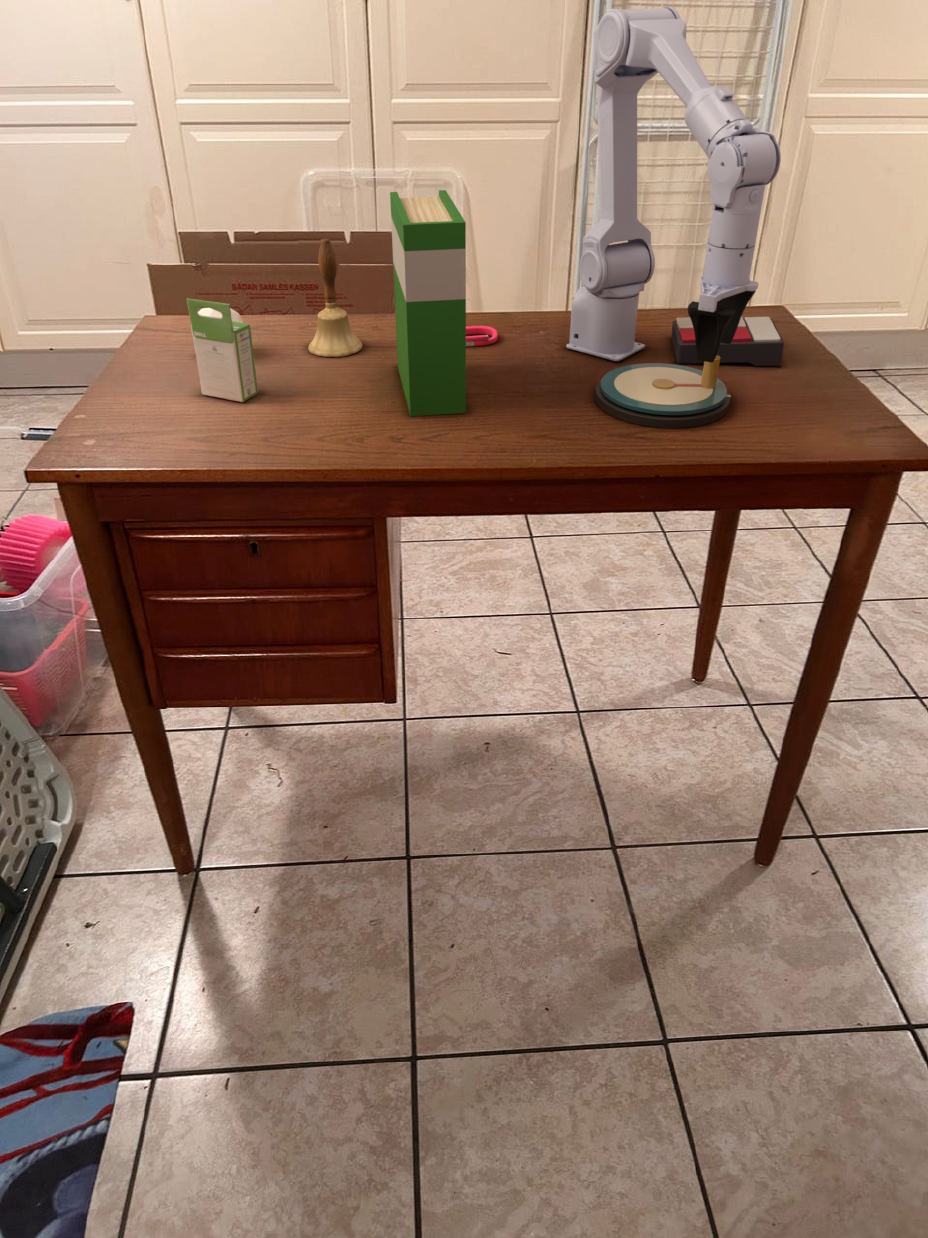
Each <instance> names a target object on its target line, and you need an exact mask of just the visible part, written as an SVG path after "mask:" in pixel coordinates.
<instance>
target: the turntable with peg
mask: <svg viewBox="0 0 928 1238" xmlns="http://www.w3.org/2000/svg"><path fill="white" fill-rule="evenodd" d="M720 364H721V363H720V356H718V355H717V356H716V358H715V360H714V362H713V363H711V362H705V361H704V363H703V368H702V370H701V369H698V368H694V367H690V366H688V365H687V366H686V365H682V364H675V363H663V362H648V363H634V364H628V365H623V366H621V367H617V368H614V369H613V370H612V369H611V370H610V371H609V372H606V374H604V375H603V377H602V378H601V379H600V381H601V391H602V393H603V395H604V396H605V397H606V398H607V399H609V400H610V401H612V402H614V403H615V404H617V405H620V406H622V407H625V408H628V409H631V410H635V411H639V412H644V413H650V414H658V415H689V414H696V413H701V412H705V411H709V410H711V409H714V408H716V407H718V406H719V405H721V404H722V403H723V402H724V401H725V399H726V395H727V390H728V389H727V386H726V384H725V383H724V382H723V381H722V380H721V379H720V378H718V376H719V369H720Z"/></svg>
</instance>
